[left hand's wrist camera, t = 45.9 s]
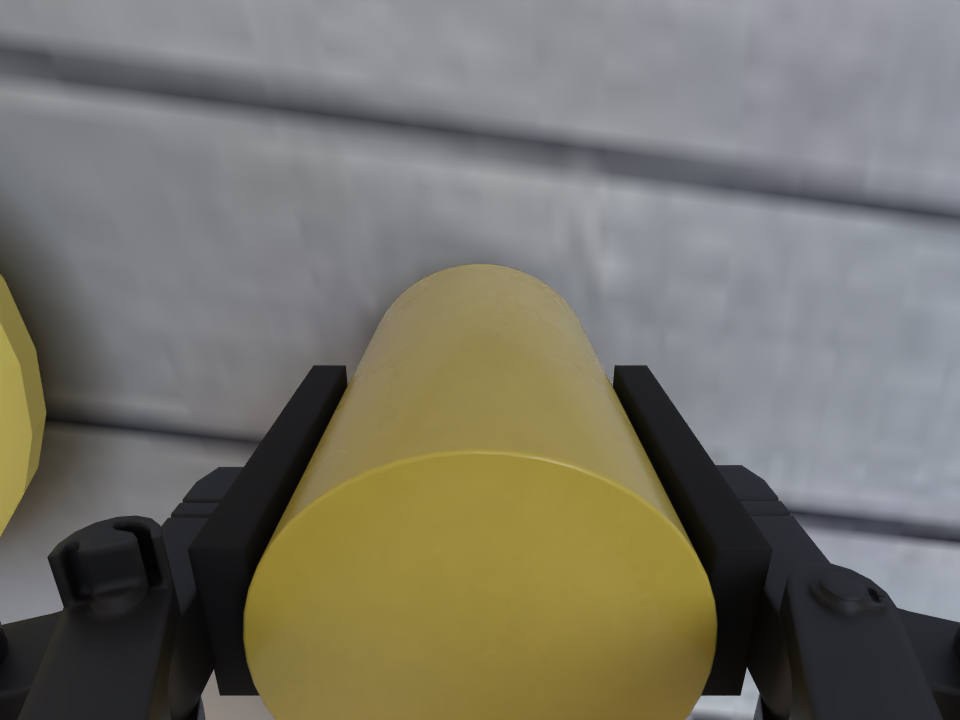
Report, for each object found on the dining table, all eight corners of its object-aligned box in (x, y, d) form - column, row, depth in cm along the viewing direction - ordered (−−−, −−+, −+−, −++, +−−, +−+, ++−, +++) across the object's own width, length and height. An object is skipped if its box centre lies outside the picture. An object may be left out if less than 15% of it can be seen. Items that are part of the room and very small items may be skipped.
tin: (539, 493, 19) (596, 848, 10) (343, 429, 18) (199, 752, 9) (628, 310, 16) (812, 544, 7) (409, 228, 16) (310, 377, 6)
